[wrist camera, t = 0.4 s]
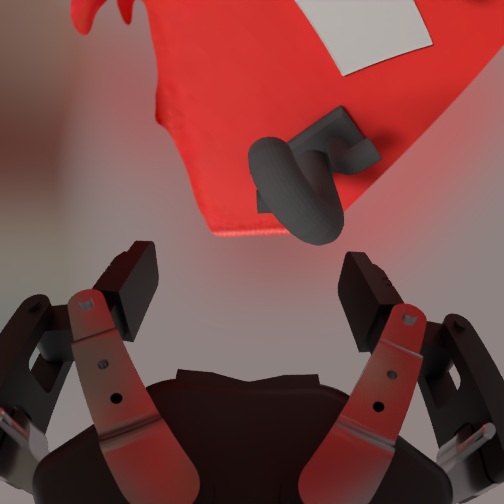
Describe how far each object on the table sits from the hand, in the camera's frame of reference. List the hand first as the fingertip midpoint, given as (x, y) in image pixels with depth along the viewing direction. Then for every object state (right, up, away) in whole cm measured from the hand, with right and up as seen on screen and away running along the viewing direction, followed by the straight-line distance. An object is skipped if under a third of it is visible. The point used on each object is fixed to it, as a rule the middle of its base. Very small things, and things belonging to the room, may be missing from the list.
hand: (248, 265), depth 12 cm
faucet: (+6, +17, +27) cm, 33 cm away
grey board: (+12, +33, +9) cm, 36 cm away
